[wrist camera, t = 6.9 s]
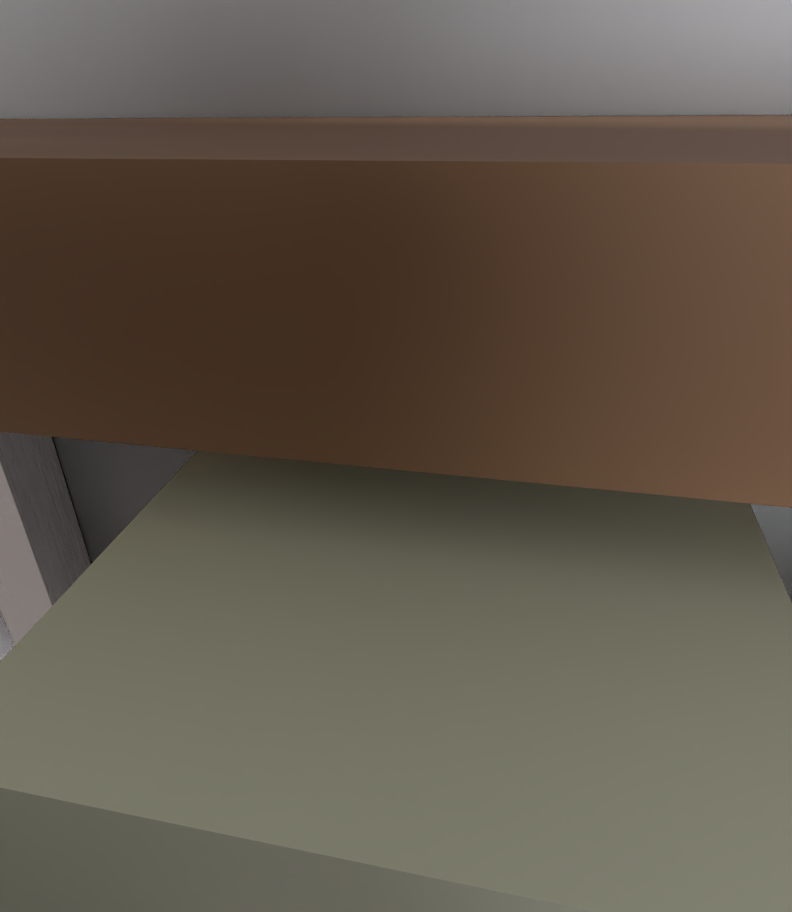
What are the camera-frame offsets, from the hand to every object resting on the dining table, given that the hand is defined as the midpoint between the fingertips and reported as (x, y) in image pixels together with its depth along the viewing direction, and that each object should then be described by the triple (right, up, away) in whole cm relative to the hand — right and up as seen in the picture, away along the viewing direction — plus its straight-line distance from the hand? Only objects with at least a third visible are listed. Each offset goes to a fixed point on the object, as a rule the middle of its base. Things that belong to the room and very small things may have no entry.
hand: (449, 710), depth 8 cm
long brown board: (+4, +5, -2) cm, 7 cm away
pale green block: (0, +1, +1) cm, 1 cm away
